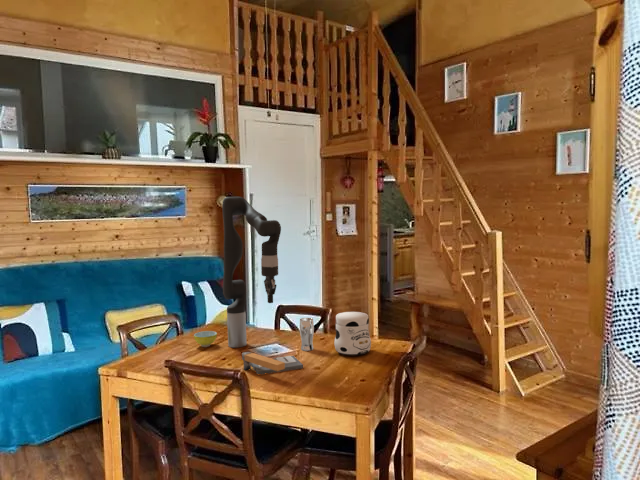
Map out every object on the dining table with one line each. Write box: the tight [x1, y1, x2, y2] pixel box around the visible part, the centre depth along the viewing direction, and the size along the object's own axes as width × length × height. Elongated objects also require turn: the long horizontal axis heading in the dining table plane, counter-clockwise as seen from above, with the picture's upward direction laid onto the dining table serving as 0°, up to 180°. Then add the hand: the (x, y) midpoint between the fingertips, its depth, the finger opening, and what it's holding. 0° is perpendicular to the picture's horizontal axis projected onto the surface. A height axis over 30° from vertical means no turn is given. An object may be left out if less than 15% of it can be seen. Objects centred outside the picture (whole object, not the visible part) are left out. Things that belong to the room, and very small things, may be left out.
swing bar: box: [241, 351, 285, 371], centre depth 202 cm, size 24×4×2 cm, turn 47°
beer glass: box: [299, 317, 315, 352], centre depth 235 cm, size 7×7×15 cm
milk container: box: [333, 311, 372, 357], centre depth 228 cm, size 17×17×18 cm
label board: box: [251, 355, 304, 375], centre depth 211 cm, size 14×20×2 cm
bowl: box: [193, 330, 218, 348], centre depth 246 cm, size 11×12×6 cm
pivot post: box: [243, 360, 252, 371], centre depth 209 cm, size 3×3×4 cm
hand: (270, 302), depth 218 cm, fingers closed
